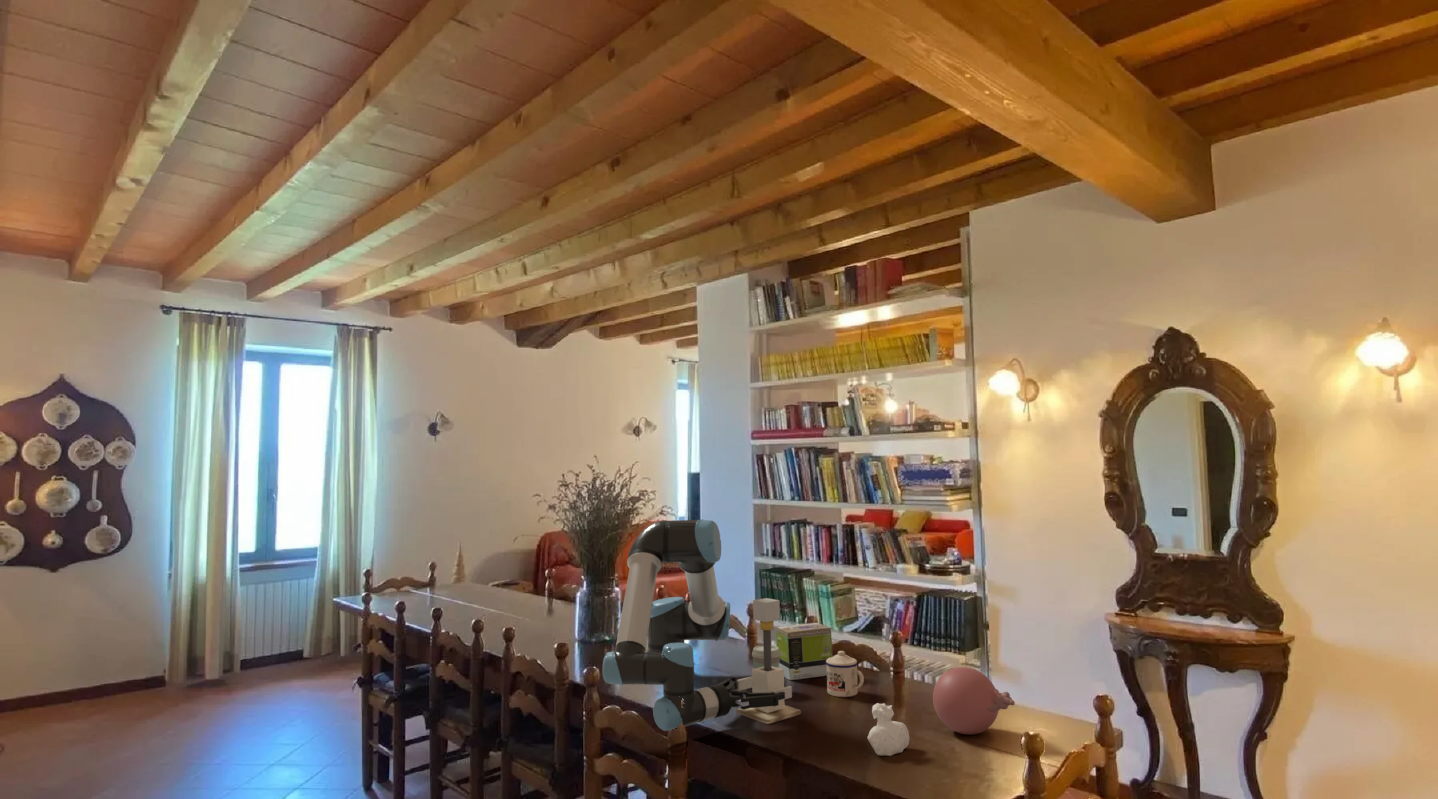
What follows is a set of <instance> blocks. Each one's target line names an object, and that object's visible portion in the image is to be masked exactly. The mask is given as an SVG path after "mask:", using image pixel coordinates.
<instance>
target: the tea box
mask: <svg viewBox="0 0 1438 799" xmlns="http://www.w3.org/2000/svg"><path fill="white" fill-rule="evenodd" d="M775 638H776V647H778V648H779V651H780V654H781V656H780V660H779V668H781V669H784V679H787V680H788V681H794V680H802V679H803V680H804V679H811V678H819V677H827V664H826V660H827V659H828V658H831V657H833V656H834V655H833V642H832V628H831V627H829V626H826V625H824V624H821V623H819V622H810V623H799V624H792V625H791V624H789V625H781V626H776V627H775Z"/></svg>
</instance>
